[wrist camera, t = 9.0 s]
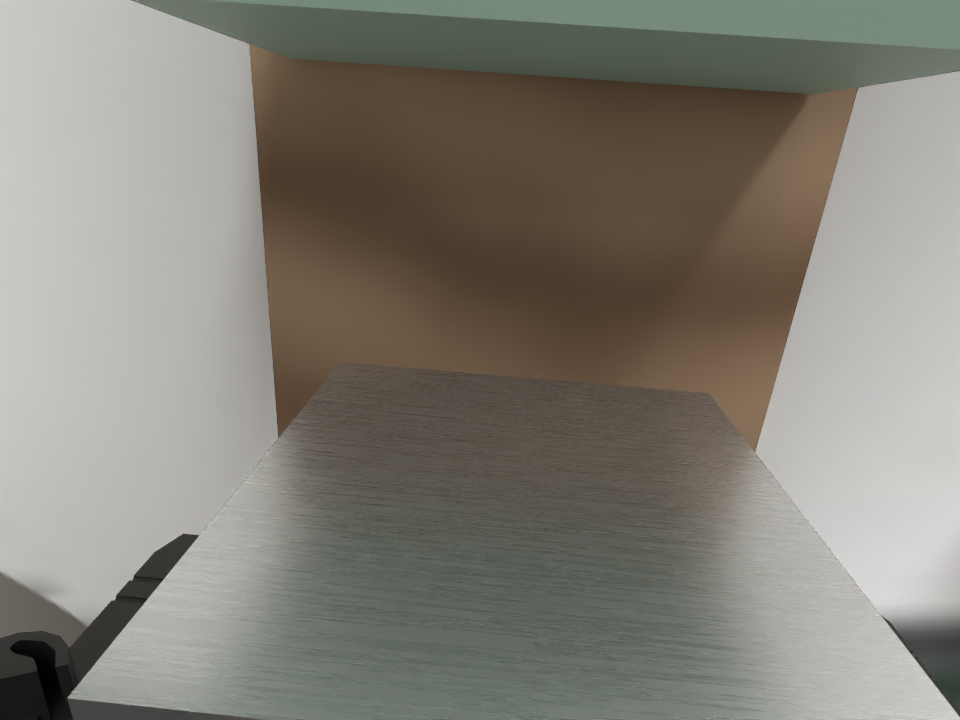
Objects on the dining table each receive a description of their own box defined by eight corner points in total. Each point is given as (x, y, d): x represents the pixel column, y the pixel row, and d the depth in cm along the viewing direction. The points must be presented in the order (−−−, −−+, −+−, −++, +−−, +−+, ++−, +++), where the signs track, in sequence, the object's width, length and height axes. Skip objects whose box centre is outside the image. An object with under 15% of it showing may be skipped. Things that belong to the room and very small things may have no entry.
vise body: (243, -318, 12) (-248, -1148, 4) (936, -286, 11) (1787, -1153, 4) (298, 543, 20) (164, 788, 12) (702, 582, 19) (819, 862, 12)
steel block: (340, 362, 12) (67, 697, 5) (709, 393, 12) (1023, 801, 5) (345, 546, 14) (152, 998, 7) (666, 577, 14) (840, 1084, 6)
